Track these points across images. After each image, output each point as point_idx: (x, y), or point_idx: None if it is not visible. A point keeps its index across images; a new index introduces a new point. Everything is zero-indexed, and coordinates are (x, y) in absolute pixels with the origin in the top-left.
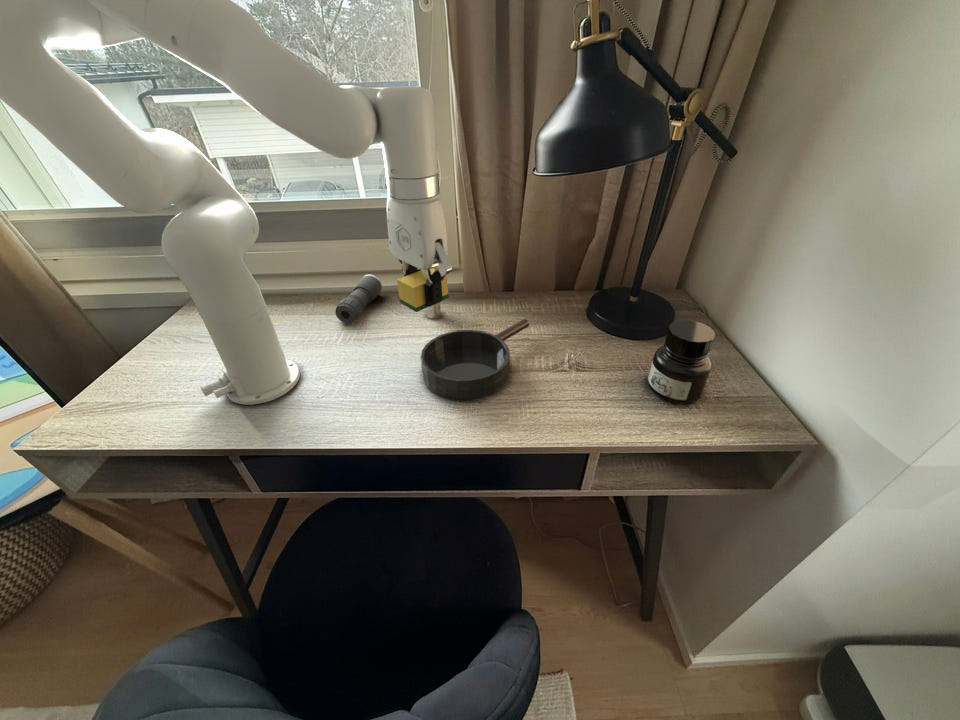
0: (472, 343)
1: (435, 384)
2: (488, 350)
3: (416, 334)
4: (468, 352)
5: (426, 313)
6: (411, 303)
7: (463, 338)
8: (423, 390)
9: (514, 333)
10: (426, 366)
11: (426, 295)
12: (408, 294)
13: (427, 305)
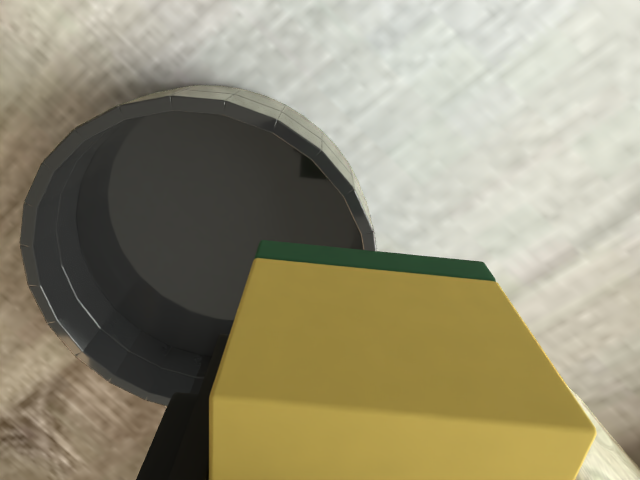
0: None
1: (187, 89)
2: None
3: (529, 295)
4: None
5: (574, 395)
6: (312, 272)
7: None
8: (260, 72)
9: None
10: (248, 119)
11: (198, 403)
12: (346, 322)
13: (222, 336)
